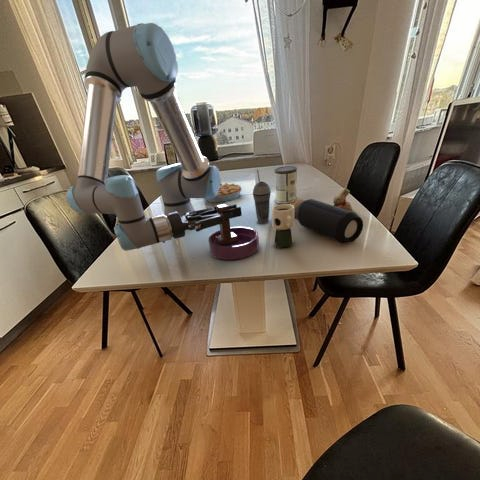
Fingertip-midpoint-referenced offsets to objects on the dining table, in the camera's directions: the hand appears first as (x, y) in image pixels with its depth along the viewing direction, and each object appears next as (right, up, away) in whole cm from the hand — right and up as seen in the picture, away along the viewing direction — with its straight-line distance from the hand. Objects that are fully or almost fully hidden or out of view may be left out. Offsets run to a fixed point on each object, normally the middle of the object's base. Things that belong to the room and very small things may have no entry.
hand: (238, 209), depth 92 cm
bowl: (-1, -11, +8) cm, 14 cm away
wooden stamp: (-4, -10, +5) cm, 11 cm away
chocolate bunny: (+43, +9, +26) cm, 51 cm away
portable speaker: (+32, -5, +11) cm, 34 cm away
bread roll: (+26, +9, +29) cm, 40 cm away
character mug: (+16, -10, +7) cm, 20 cm away
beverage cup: (+10, +5, +26) cm, 29 cm away
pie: (-9, +32, +62) cm, 71 cm away
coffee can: (+23, +23, +46) cm, 56 cm away
